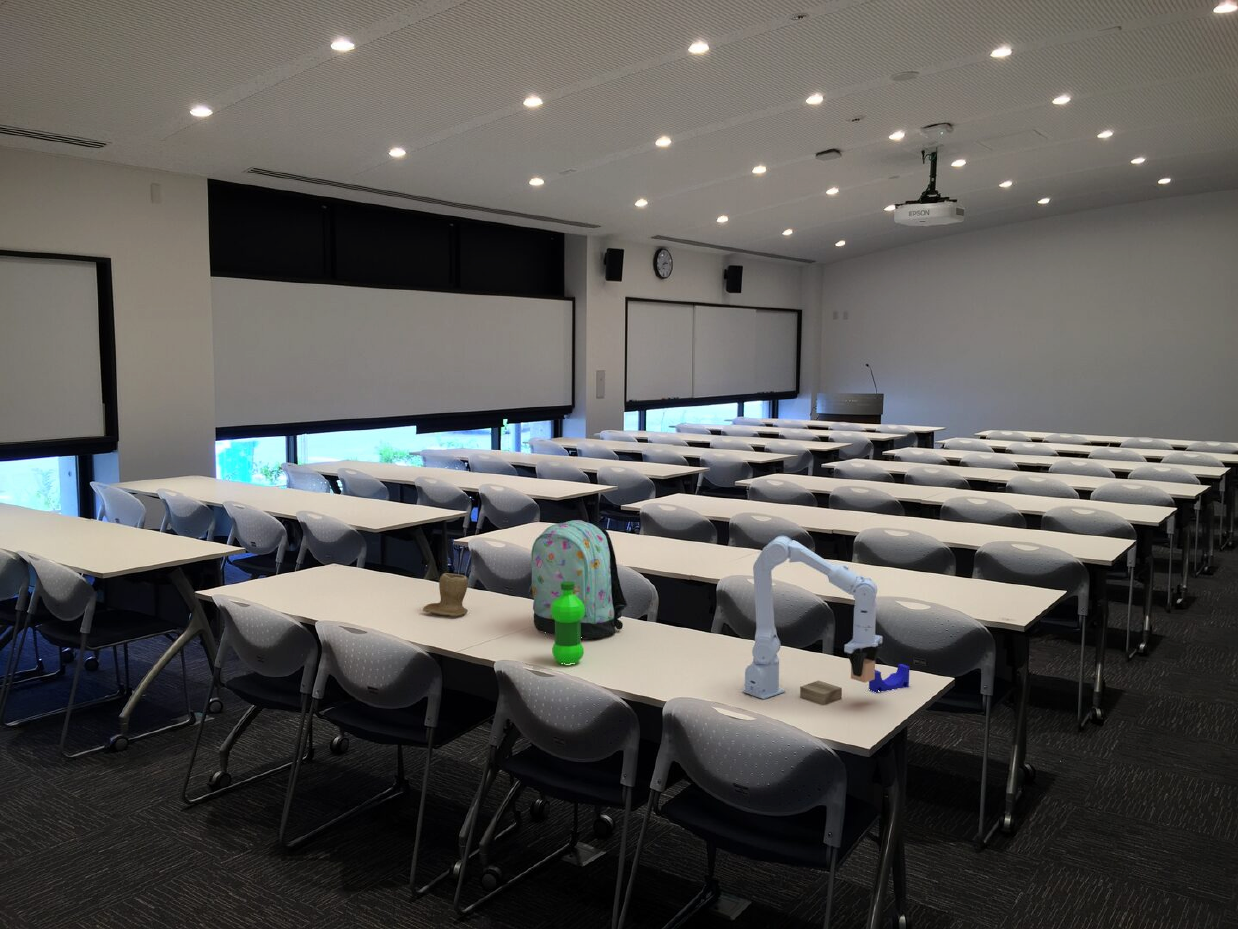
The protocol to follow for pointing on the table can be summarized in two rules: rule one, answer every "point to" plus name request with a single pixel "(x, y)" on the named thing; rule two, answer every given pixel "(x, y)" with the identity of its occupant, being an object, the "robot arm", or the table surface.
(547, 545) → the backpack
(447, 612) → the brown boot
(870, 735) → the table surface
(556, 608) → the plastic bottle
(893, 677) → the blue cradle block
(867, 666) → the light tan block
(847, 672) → the table surface
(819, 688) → the olive block
